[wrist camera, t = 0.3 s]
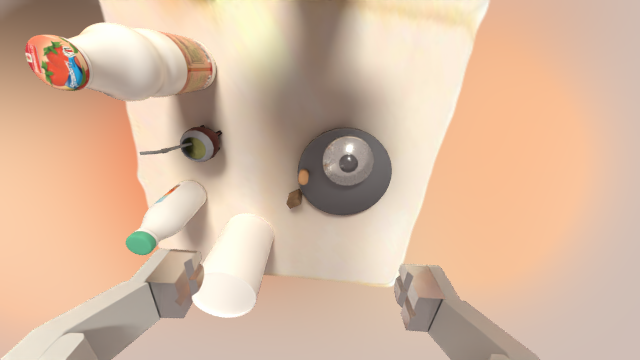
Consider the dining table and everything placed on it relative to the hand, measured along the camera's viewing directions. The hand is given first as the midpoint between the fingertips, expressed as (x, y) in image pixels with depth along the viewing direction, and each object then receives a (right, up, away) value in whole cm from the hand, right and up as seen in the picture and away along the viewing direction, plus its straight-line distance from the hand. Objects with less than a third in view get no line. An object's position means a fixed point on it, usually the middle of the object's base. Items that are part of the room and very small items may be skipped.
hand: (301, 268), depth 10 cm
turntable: (+7, +6, +48) cm, 49 cm away
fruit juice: (-25, +27, +38) cm, 53 cm away
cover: (+7, +9, +44) cm, 45 cm away
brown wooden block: (-6, 0, +51) cm, 51 cm away
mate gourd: (-25, +13, +45) cm, 53 cm away
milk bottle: (-32, 0, +51) cm, 60 cm away
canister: (-19, -11, +57) cm, 61 cm away
